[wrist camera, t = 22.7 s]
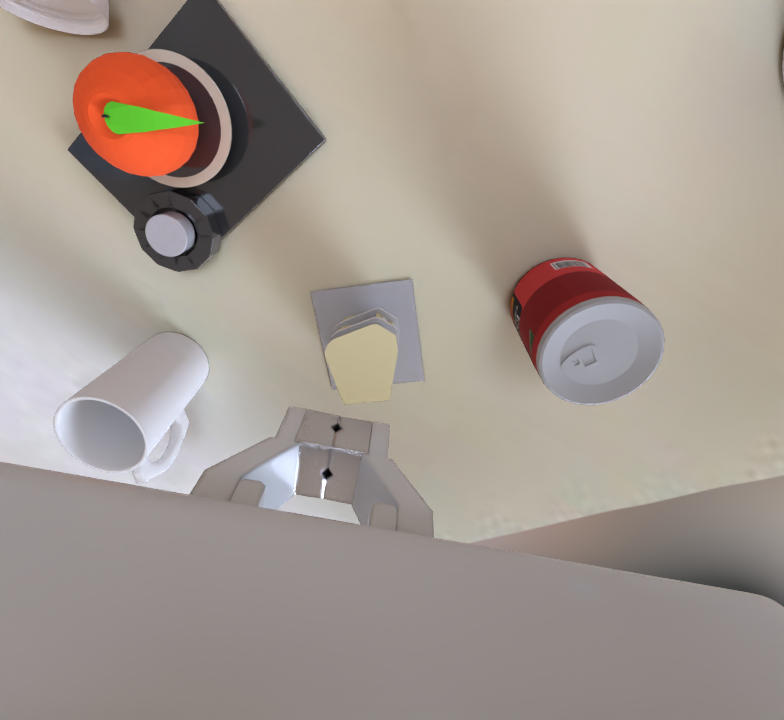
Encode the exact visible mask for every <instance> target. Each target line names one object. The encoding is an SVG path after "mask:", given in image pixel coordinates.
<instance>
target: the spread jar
mask: <svg viewBox="0 0 784 720" xmlns="http://www.w3.org/2000/svg"><path fill="white" fill-rule="evenodd" d="M0 7H1V8H3V9H4V10H6V11H8V12H10V13H12V14H14V15H16V16H18V17H20V18H22V19H25V20H27V21H29V22H32V23H35V24H37V25H40V26H43V27H46V28H50V29H53V30H57V31H61V32H65V33H71V34H78V35H96V34H100V33H103V32H105V31H106V30H107V29H108V27H109V1H108V0H0Z"/></svg>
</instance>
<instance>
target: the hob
mask: <svg viewBox="0 0 784 720" xmlns="http://www.w3.org/2000/svg"><path fill="white" fill-rule="evenodd" d="M150 49H163V50H168V51H172V52H175V53H178V54H181V55H183V56H185V57H187V58H189V59H190V60H192V61H193V62H195V63H196V64H198V65H199V66H200V67H201V68H202V69H203V70H204V71H205V72H206V73H207V74H208V75H209V76H210V77H211V78H212V80H213V81H214V82H215V84H216V85H217V87H218V88H219V90H220V92H221V93H222V95H223V98H224V100H225V102H226V105H227V108H228V111H229V114H230V119H231V127H232V140H231V147H230V151H229V155H228V157H227V159H226V162H225V163H224V165H223V167H222V168H221V170H220V171H219V172H218V173H217V174H216V175H215V176H214V177H213V178H212V179H210V180H208V181H207V182H205V183H203V184H200V185H197V186H193V187H185V188H181V187H172V186H168V185H165V184H162V183H159V182H157V181H155V180H153V179H151V178H150V177H148V176H140V175H135V174H130V173H127V172H125V171H123V170H121V169H119V168H116V167H115V166H113V165H111V164H110V163H108V162H107V161H106V160H105V159H103V158H102V157H101V156H99V155H98V154H97V153H96V152H95V151H94V150H93V148H92V147H91V146H90V145H89V144H88V143H87V141H86V139H85V138H84V136H83V134H82V132H81V133H80V135H79V136H78V137H77V138H76V140H75V141H74V142H73V143H72V145H71V146H70V147H69V148H68V151H69V152H70V153H71V154H72V155H73V156H74V157H75V158H76V159H77V160H78V161H79V162H80V163H81V164H82V165H83V166H84V167H85V168H86V169H87V170H88V171H89V172H90V173H91V174H92V175H93V176H94V177H95V178H96V179H97V180H98V181H99V182H100V183H101V184H102V185H103V186H104V187H105V188H106V189H107V190H108V191H109V192H110V193H111V194H112V195H113V196H114V197H115V198H116V199H117V200H118V201H119V202H120V203H121V204H122V205H123V206H124V207H125V208H126V209H127V210H128V211H129V212H130V213H131V214H132V215H133V216H134V217H135V219H134V231H135V233H136V236H137V238H138V241H139V243H140V246H141V248H142V250H143V251H144V252H146V253H147V254H148V255H149V256H150V257H151V258H152V259H153V260H154V261H155V262H156V263H157V264H158V265H161V266H163V267H166V268H169V269H172V270H174V271H178V272H180V271H187V270H194V269H198V268H199V267H201V266H202V265H204V264H205V263H206V262H208V261H209V260H210V259H211V258H212V257H213V256H214V255H215V254H216V253H217V252H218V250H219V245H220V240H222V239H223V238H224V237H225V236H226V235H227V234H228V233H229V232H230V231H231V230H232V229H233V228H234V227H235V226H236V225H237V224H238V223H239V222H241V221H242V220H243V219H244V218H245V217H246V216H247V215H248V214H249V213H250V212H251V211H252V210H253V209H254V208H255V207H256V206H257V205H258V204H259V203H261V202H262V201H263V200H264V199H265V198H266V197H267V196H268V195H269V194H270V193H271V192H272V191H273V190H274V189H275V188H276V187H277V186H278V185H280V184H281V183H282V182H283V181H284V180H285V179H286V178H287V177H288V176H289V175H290V174H291V173H292V172H293V171H294V170H295V169H296V168H297V167H299V166H300V165H301V164H302V163H303V162H304V161H305V160H306V159H307V158H308V157H309V156H310V155H311V154H312V153H313V152H314V151H315V150H316V149H317V148H319V147H320V146H321V145H322V144H323V143H324V142H325V141H326V138H325V137H324V135H323V134H322V133H321V132H320V130H319V129H318V128H317V126H316V125H315V124H314V123H313V121H312V120H311V119H310V117H309V116H308V115H307V114H306V112H305V111H304V110H303V108H302V107H301V106H300V105H299V103H298V102H297V101H296V99H295V98H294V97H293V96H292V94H291V93H290V92H289V90H288V89H287V88H286V87H285V85H284V84H283V83H282V82H281V80H280V79H279V78H278V76H277V75H276V74H275V73H274V71H273V70H272V69H271V67H270V66H269V65H268V64H267V62H266V61H265V60H264V58H263V57H262V56H261V55H260V53H259V52H258V51H257V49H256V48H255V47H254V46H253V44H252V43H251V42H250V40H249V39H248V38H247V37H246V35H245V34H244V33H243V31H242V30H241V29H240V28H239V26H238V25H237V24H236V23H235V21H234V20H233V19H232V17H231V16H230V15H229V14H228V12H227V11H226V10H225V8H224V7H223V6H222V5H221V3H220V2H219V1H218V0H188V1H187V2H186V3H185V4H184V6H183V7H182V8H181V9H180V11H179V12H178V13H177V14H176V15H175V17H174V18H173V19H172V20H171V22H170V23H169V24H168V25H167V27H166V28H165V29H164V30H163V32H162V33H161V34H160V35H159V37H158V38H157V39H156V40H155V42H154V43H153V44H152V45H151V47H150V48H149V49H148V50H150ZM167 211H174V212H178V213H180V214H182V215H183V216H185V217H186V218H187V219H188V220H189V221H190V222H191V224H192V226H193V228H194V231H195V241H194V244H193V246H192V247H191V248H190V249H189V250H187V251H186V252H184V253H182V254H180V255H178V256H175V257H168V256H164V255H162V254H160V253H158V252H156V251H155V250H154V249H153V248H152V247H151V246H150V244H149V242H148V240H147V238H146V234H145V228H146V224H147V222H148V220H149V219H150V218H151V217H153V216H155V215H157V214H160V213H163V212H167Z"/></svg>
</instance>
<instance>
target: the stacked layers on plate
mask: <svg viewBox="0 0 784 720" xmlns="http://www.w3.org/2000/svg"><path fill="white" fill-rule="evenodd" d="M310 293H311V298H312V302H313V306H314V311H315V315H316V320H317V324H318V328H319V333H320V337H321V341H322V346H323V350H324V355H325V359H326V363H327V368H328V372H329V376H330V381H331V385H332V390H334V389H338V391H339V394H340V396H341V399H342V401H343V403H344V404H355V403H366V402H377V401H387V400H389V399H390V394H391V389H392V384H395V383H406V382H416V381H424V372H423V364H422V356H421V348H420V340H419V332H418V324H417V316H416V308H415V300H414V292H413V284H412V279H409V280H401V281H393V282H385V283H377V284H368V285H360V286H352V287H344V288H335V289H327V290H319V291H311V292H310Z"/></svg>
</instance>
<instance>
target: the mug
mask: <svg viewBox="0 0 784 720" xmlns="http://www.w3.org/2000/svg"><path fill="white" fill-rule="evenodd" d="M208 371H209V364H208V360H207V357H206V355H205V353H204V351H203V350H202V349H201V347H200V346H199V345H198V344H197V343H196V342H194V341H193V340H192V339H190V338H188V337H186V336H184V335H181V334H178V333H172V332H165V333H160V334H157V335H155V336H153V337H152V338H150V339H149V340H147V341H146V342H144V343H143V344H142V345H140V346H139V347H137V348H136V349H135V350H134V351H132V352H131V353H130V354H128V355H127V356H126V357H124V358H123V359H122V360H120V361H119V362H118V363H116V364H115V365H114V366H112V367H111V368H110V369H108V370H107V371H105V372H104V373H103V374H101V375H100V376H99V377H97V378H96V379H95V380H93V381H92V382H91V383H89V384H88V385H87V386H85V387H84V388H83V389H81V390H80V391H79V392H77V393H76V394H75V395H73V396H72V397H71V398H70V399H69V400H67V401H65V402H64V403H63V404H62V405H61V406H60V407H59V408H58V409H57V411H56V413H55V416H54V430H55V433H56V436H57V438H58V440H59V442H60V443H61V445H62V446H63V448H64V449H65V450H66V451H67V452H68V453H69V454H70V455H71V456H72V457H74V458H75V459H76V460H78V461H79V462H81V463H82V464H84V465H86V466H88V467H90V468H93V469H96V470H99V471H102V472H108V473H124V472H128V471H131V470H133V471H132V474H133V476H134V478H135V481H136V483H137V484H145V483H146V482H147V481H148V480H149V479H151V478H154V477H156V476H158V475H160V474H161V473H163V472H164V471H166V470H167V469H168V468H169V467H170V465H171V464H172V463H173V461H174V460H175V458H176V456H177V454H178V452H179V450H180V448H181V445H182V442H183V439H184V437H185V434H186V431H187V428H188V426H189V420H188V418H187V416H186V414H185V411H184V408H185V407H186V405H187V404H188V403H189V401H190V400H191V399H192V398H193V396H194V395H195V394H196V392H197V391H198V390H199V388H200V387H201V385H202V384H203V383H204V381H205V380H206V378H207V375H208ZM169 427H171V432H170V440H169V444H168V447H167V449H166V451H165V453H164V454H163V456H162V457H161V458H160V459H159V460H158V461H157V462H154V463H152V462H150V460H149V459H148V455H149V453H150V452H151V451H152V450H153V448H154V447H155V446H156V444H157V443H158V442H159V441H160V439H161V438H162V437H163V435H164V434H165V433H166V431H167V430H168V429H169Z"/></svg>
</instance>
